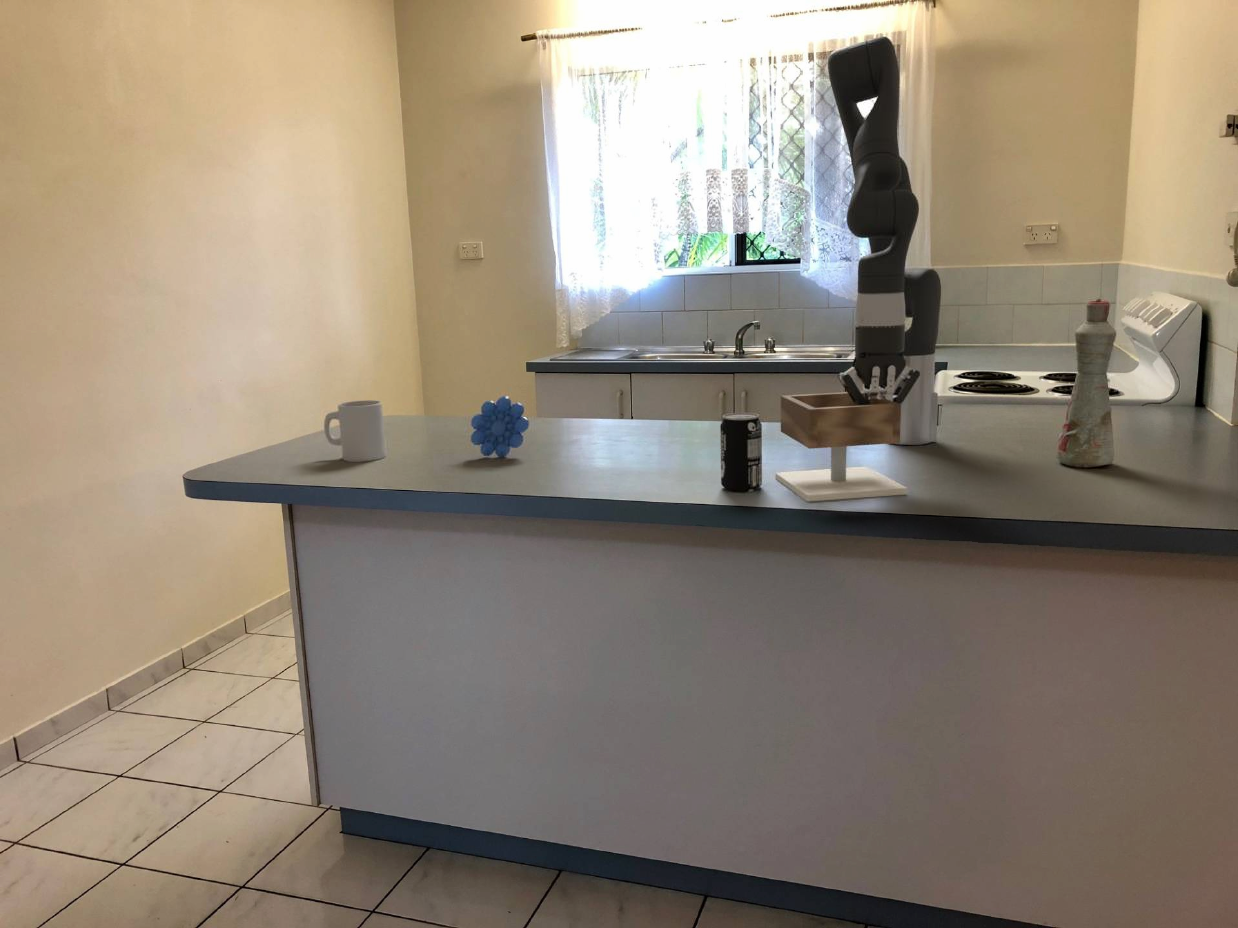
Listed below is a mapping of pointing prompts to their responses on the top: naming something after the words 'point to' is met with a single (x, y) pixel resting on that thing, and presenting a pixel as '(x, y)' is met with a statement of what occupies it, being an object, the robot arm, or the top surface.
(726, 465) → the beverage can
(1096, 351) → the bottle
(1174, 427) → the top surface
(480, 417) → the blue flower ornament
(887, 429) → the collar
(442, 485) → the top surface
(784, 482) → the white square baseplate
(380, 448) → the mug
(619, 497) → the top surface
